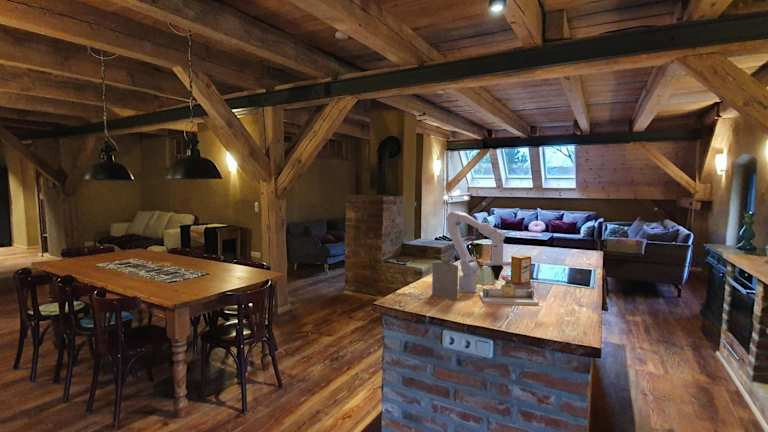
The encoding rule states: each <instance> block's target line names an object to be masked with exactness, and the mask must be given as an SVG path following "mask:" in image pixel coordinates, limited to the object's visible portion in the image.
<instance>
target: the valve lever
mask: <svg viewBox="0 0 768 432" xmlns="http://www.w3.org/2000/svg"><path fill="white" fill-rule="evenodd" d="M500 279H502V281H504V283H508V284H510V283H511V279H509V276H508V275H506V274H500ZM511 284H512V283H511Z"/></svg>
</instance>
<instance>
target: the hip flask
mask: <svg viewBox="0 0 768 432" xmlns="http://www.w3.org/2000/svg"><path fill="white" fill-rule="evenodd" d="M431 275H432V277H431V278H432V279H431V280H432V281H431V282H432V283H431V284H432V285H431V286H432V288H431V294H432V295H433V296H437V297H440V296H441V298H443V297H444V299H447V300H449V299H450V300H449V301H452V302H456V301H458V290H459V265H458V264H455V263H452V262H450V258H447V257H444V258H442V261H441V260H433V261H432V274H431Z"/></svg>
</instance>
